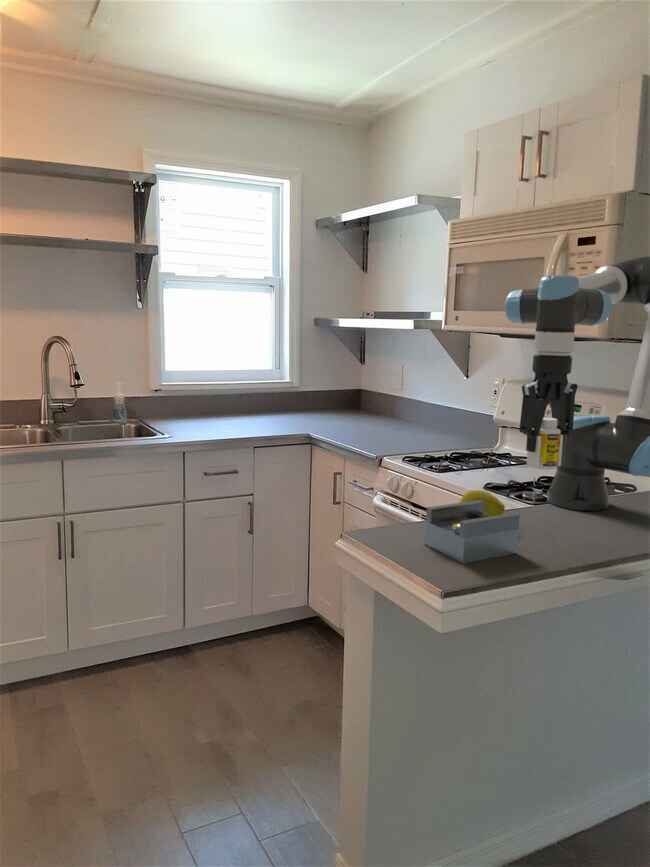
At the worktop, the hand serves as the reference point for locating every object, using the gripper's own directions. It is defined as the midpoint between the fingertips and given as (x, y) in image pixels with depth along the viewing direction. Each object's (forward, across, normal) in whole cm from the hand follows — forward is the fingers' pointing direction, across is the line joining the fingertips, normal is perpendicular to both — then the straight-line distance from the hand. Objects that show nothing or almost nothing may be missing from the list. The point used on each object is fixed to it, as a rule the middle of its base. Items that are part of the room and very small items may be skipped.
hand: (543, 465), depth 141 cm
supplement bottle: (+1, 0, 0) cm, 1 cm away
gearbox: (+17, +16, -3) cm, 23 cm away
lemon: (+17, +3, -15) cm, 23 cm away
